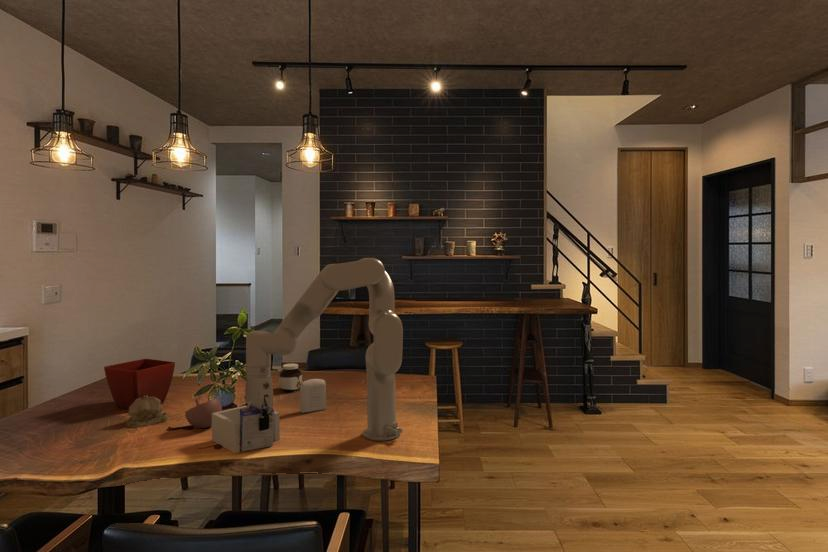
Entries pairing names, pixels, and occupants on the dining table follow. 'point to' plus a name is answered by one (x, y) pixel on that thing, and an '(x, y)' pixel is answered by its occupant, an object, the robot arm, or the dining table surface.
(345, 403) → the dining table surface
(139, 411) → the ceramic model
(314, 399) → the photo printer
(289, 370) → the spread jar
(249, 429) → the ink cartridge box
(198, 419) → the mortar and pestle
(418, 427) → the dining table surface
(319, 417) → the dining table surface
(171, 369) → the plant pot
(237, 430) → the cubby
